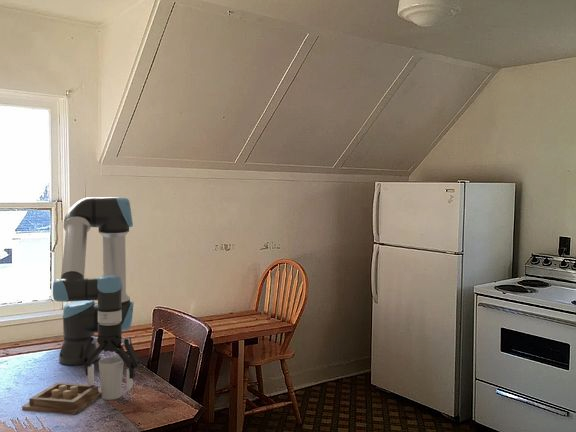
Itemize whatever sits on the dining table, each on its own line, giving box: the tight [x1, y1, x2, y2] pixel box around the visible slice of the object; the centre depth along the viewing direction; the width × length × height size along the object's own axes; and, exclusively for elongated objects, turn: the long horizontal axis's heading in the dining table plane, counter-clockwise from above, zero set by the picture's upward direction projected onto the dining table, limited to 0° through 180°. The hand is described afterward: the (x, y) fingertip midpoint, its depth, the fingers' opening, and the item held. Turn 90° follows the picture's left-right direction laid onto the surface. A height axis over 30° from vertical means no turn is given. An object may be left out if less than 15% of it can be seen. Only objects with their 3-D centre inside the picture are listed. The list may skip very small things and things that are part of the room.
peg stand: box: [21, 382, 102, 415], centre depth 185 cm, size 18×18×4 cm
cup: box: [97, 356, 125, 400], centre depth 190 cm, size 8×8×12 cm
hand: (110, 386), depth 190 cm, fingers open, 13 cm apart
